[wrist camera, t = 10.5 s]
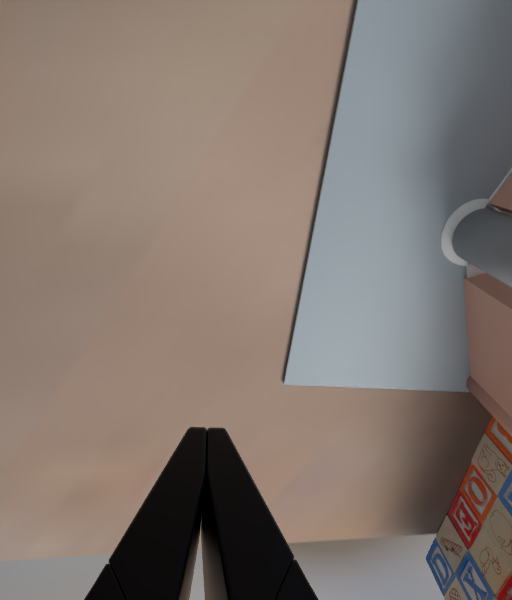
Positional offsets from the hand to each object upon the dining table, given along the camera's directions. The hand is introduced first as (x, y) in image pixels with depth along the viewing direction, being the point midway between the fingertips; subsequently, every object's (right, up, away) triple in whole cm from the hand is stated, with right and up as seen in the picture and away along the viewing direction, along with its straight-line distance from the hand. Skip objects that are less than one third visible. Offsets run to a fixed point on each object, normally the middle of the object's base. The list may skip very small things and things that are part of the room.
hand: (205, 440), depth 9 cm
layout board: (+12, +9, +10) cm, 18 cm away
